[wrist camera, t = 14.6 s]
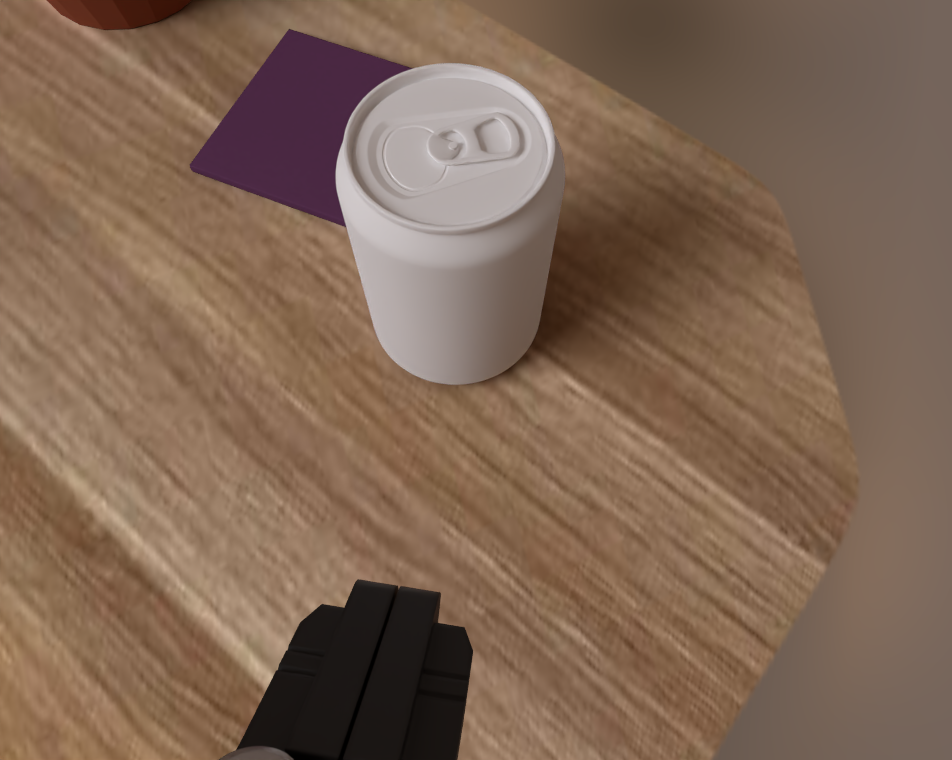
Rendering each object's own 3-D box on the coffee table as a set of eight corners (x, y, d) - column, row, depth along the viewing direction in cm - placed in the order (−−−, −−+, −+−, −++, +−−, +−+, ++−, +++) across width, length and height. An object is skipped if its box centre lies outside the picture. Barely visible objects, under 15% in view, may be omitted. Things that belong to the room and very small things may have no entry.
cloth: (476, 95, 40) (476, 88, 40) (393, 244, 36) (392, 239, 36) (290, 35, 42) (288, 28, 42) (192, 171, 38) (188, 165, 37)
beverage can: (358, 265, 36) (307, 77, 25) (512, 229, 37) (529, 33, 26) (394, 409, 33) (354, 268, 22) (561, 366, 33) (604, 210, 22)
